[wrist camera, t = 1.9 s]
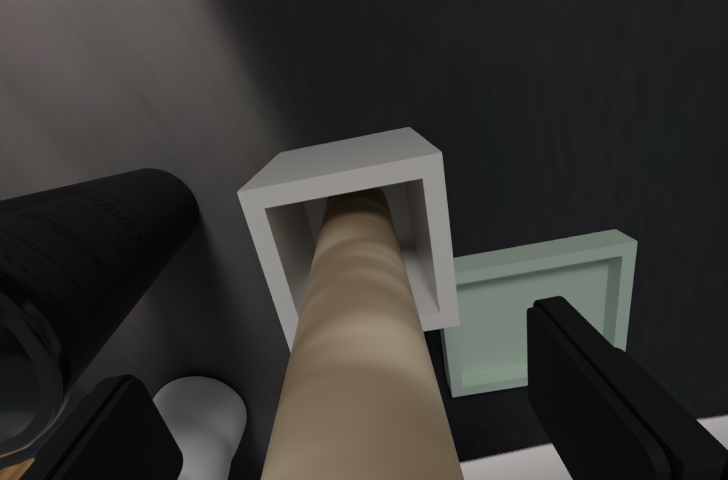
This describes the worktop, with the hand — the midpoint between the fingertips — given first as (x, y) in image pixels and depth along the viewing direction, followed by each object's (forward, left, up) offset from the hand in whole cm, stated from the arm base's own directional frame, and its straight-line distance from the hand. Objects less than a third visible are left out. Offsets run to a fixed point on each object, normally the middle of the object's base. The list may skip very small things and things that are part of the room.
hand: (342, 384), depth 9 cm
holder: (0, 0, -15) cm, 15 cm away
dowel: (0, 0, -14) cm, 14 cm away
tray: (-10, +10, -15) cm, 21 cm away
